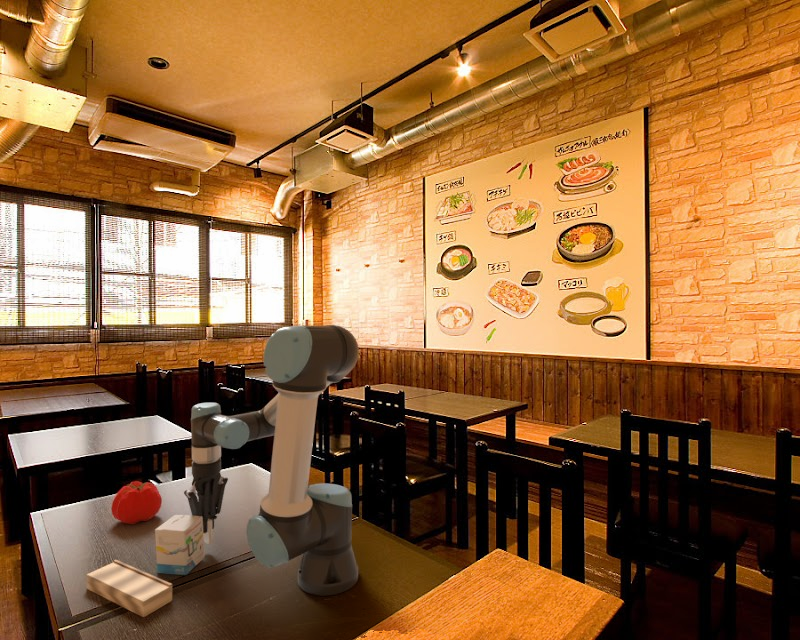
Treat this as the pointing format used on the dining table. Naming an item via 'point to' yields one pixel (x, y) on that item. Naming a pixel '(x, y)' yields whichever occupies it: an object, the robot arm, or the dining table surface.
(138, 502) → the tomato
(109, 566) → the plank
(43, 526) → the dining table surface
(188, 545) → the ink box
